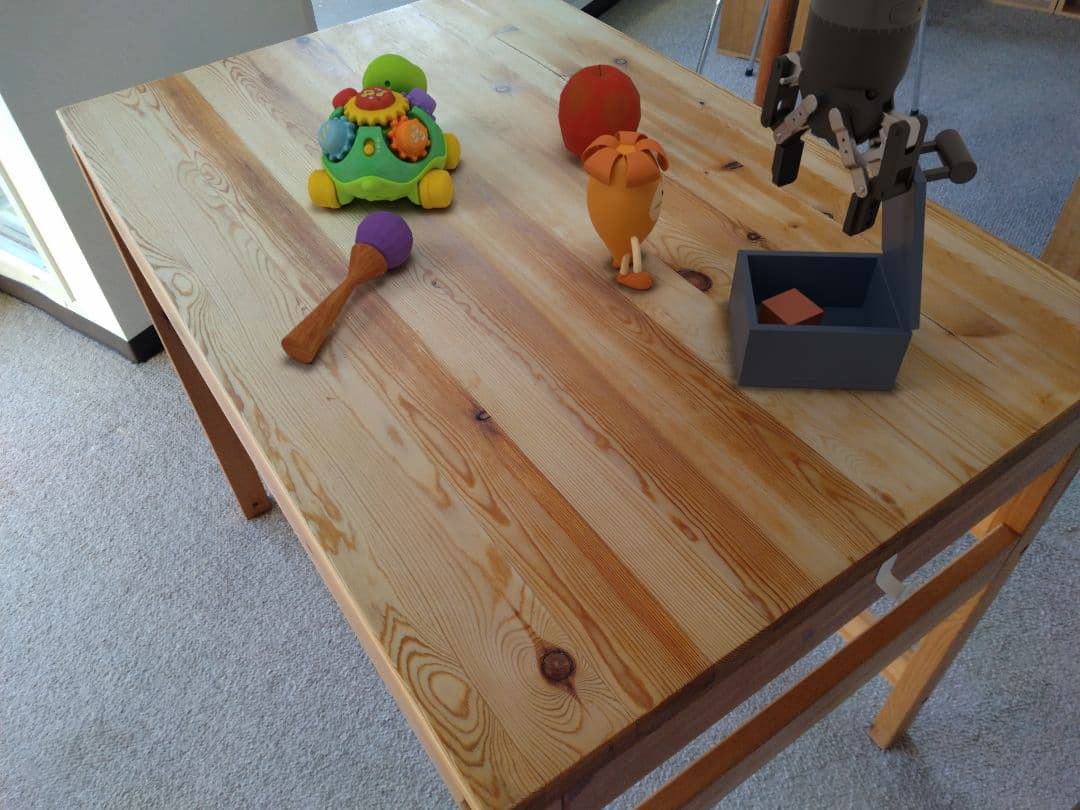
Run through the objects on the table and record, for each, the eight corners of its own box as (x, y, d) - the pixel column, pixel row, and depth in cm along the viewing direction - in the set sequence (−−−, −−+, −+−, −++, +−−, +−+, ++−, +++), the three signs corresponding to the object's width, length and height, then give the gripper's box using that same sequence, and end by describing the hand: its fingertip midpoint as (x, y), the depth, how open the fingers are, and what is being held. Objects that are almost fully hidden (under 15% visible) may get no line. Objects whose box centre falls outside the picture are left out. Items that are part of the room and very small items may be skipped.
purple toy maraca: (258, 324, 79) (365, 199, 90) (285, 369, 83) (384, 244, 95) (308, 330, 76) (411, 200, 88) (334, 376, 81) (429, 247, 92)
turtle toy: (469, 127, 112) (461, 38, 104) (451, 227, 96) (440, 131, 88) (343, 128, 113) (325, 39, 104) (304, 228, 97) (278, 132, 88)
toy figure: (669, 303, 86) (683, 171, 75) (592, 313, 85) (594, 180, 74) (641, 236, 94) (650, 108, 83) (570, 244, 93) (570, 116, 82)
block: (815, 344, 80) (824, 311, 77) (782, 358, 78) (790, 325, 76) (786, 320, 82) (794, 287, 79) (754, 334, 81) (761, 301, 78)
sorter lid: (915, 182, 61) (993, 167, 60) (882, 106, 69) (950, 92, 68) (909, 330, 71) (976, 321, 70) (881, 249, 79) (941, 239, 78)
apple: (608, 184, 102) (611, 91, 93) (541, 159, 106) (539, 69, 98) (653, 148, 107) (660, 58, 99) (587, 126, 112) (589, 38, 103)
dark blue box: (738, 386, 77) (749, 329, 72) (728, 305, 85) (737, 249, 80) (891, 391, 76) (913, 334, 71) (866, 309, 84) (884, 252, 80)
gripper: (989, 26, 55) (916, 235, 67) (836, -39, 64) (795, 156, 76) (904, 52, 53) (843, 265, 64) (757, -19, 62) (727, 180, 73)
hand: (817, 206), depth 70 cm, fingers open, 8 cm apart
